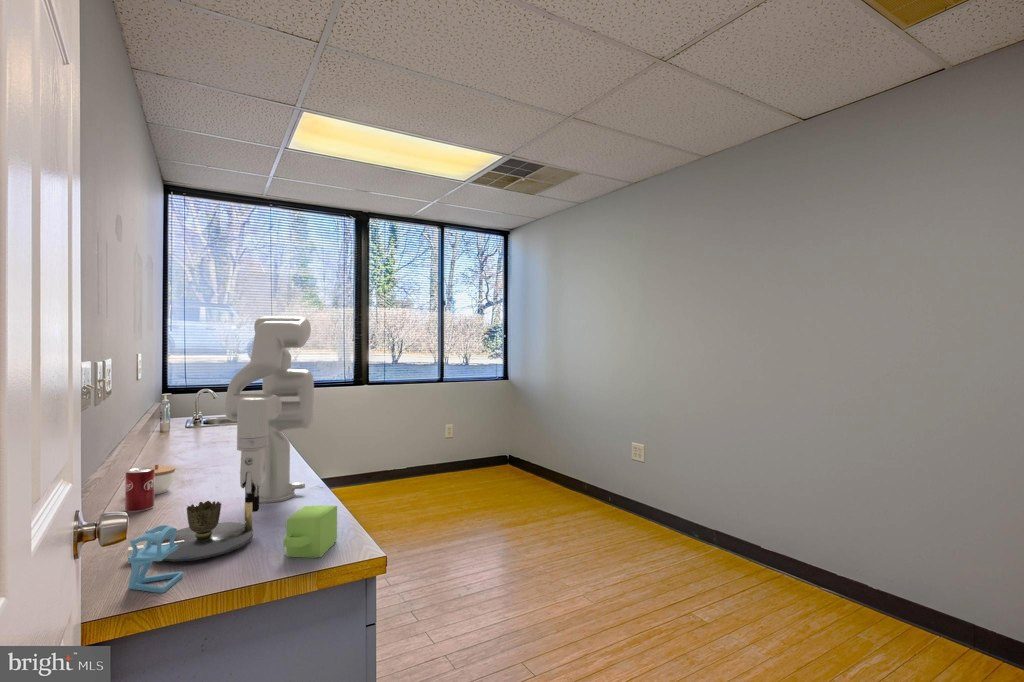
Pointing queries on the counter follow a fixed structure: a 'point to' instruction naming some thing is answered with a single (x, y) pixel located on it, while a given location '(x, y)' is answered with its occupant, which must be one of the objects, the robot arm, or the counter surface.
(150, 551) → the chair
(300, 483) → the robot arm
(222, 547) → the turntable
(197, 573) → the counter surface
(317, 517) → the gearbox
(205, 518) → the cup
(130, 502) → the soda can
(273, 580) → the counter surface
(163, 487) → the lidded jar
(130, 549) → the turntable base
